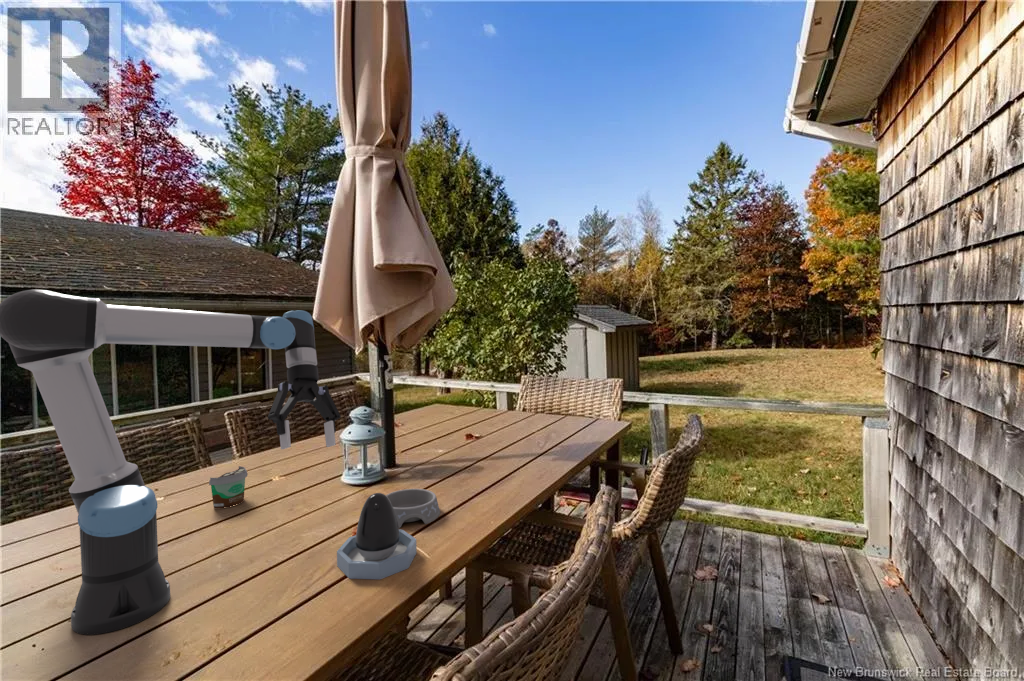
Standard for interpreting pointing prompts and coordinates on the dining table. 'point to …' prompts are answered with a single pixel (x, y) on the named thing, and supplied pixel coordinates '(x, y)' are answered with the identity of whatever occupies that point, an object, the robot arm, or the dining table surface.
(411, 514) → the dog bowl
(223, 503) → the food container
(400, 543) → the bowl
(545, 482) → the dining table surface
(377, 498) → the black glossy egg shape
